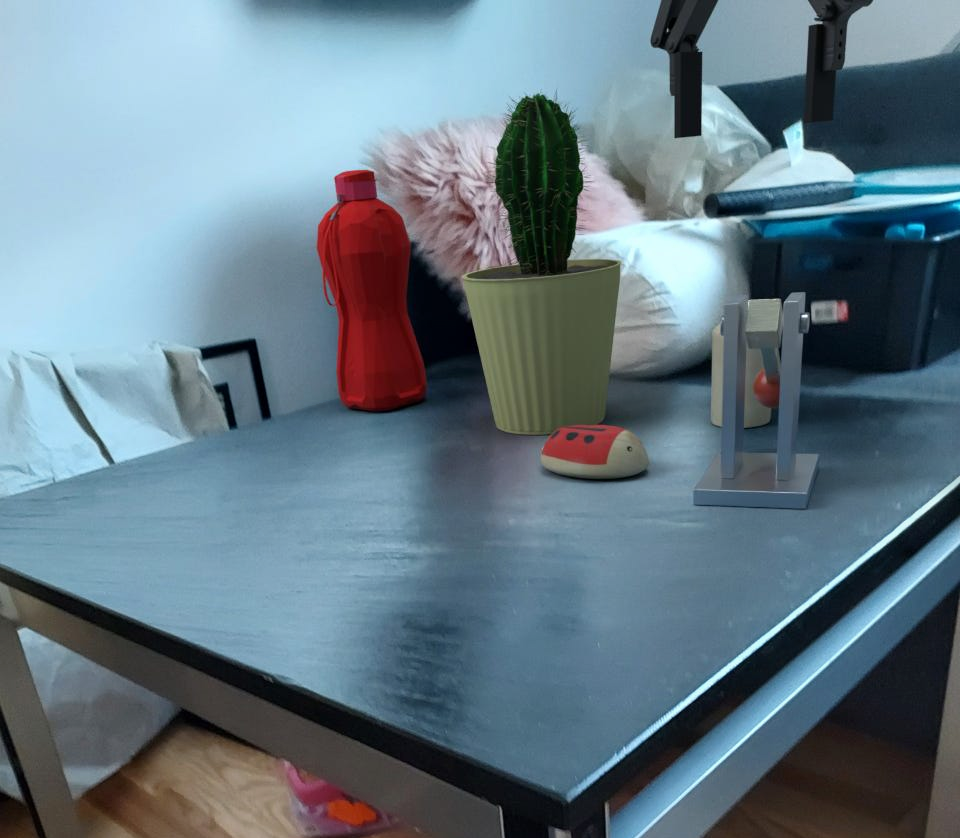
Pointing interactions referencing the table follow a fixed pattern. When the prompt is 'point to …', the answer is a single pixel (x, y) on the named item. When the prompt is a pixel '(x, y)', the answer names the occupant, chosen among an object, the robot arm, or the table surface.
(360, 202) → the water bottle
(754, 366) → the candle
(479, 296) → the potted cactus
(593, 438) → the ladybug figurine
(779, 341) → the lever
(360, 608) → the table surface
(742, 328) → the bracket
